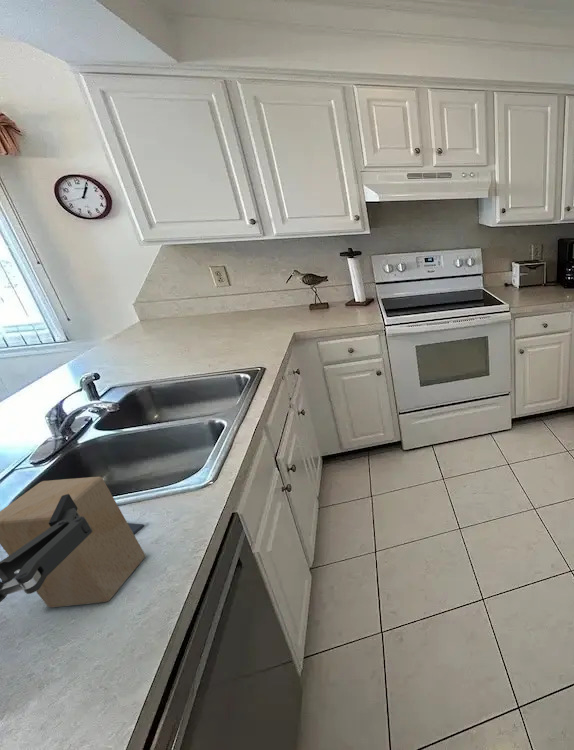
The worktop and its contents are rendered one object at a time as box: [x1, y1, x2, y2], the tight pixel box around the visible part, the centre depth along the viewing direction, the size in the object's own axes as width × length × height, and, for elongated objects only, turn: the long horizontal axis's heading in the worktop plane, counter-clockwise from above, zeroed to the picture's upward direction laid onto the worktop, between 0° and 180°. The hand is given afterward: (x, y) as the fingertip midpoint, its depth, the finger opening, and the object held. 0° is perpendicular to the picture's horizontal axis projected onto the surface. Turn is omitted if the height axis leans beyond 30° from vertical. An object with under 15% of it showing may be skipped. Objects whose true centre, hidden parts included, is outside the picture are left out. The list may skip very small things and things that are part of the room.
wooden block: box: [0, 476, 146, 608], centre depth 72 cm, size 10×10×20 cm
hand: (3, 522), depth 56 cm, fingers open, 13 cm apart
